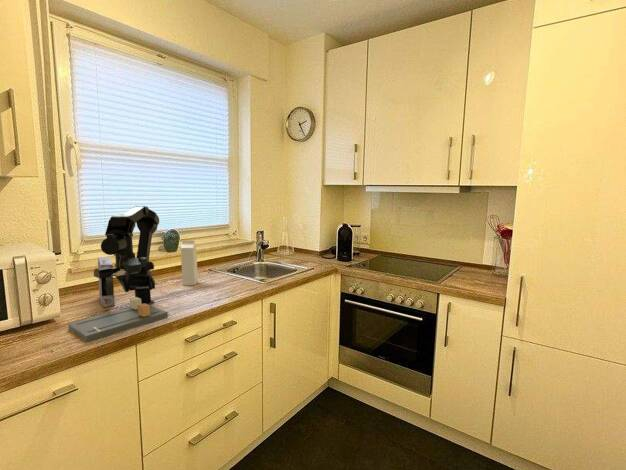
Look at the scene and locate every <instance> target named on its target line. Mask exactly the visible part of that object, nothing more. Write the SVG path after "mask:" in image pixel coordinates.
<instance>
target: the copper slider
mask: <svg viewBox="0 0 626 470" xmlns="http://www.w3.org/2000/svg"><path fill="white" fill-rule="evenodd" d="M150 305H151V304H149V305H147V304H145V303H143V304H139V305H137V306H138V315H140V316H142V317H145V316H149V315H150Z"/></svg>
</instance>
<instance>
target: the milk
mask: <svg viewBox="0 0 626 470" xmlns="http://www.w3.org/2000/svg"><path fill="white" fill-rule="evenodd" d="M181 242H182V243H181V246H180V261H181V277H182V278H181V282H182V286H195V285H196V284H198V283H199V280H198V279H199V277H198V276H199V275H198V259H197V258H198V257H197V255H198V254H197V244H195V243H196V242H195V240H181Z"/></svg>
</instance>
